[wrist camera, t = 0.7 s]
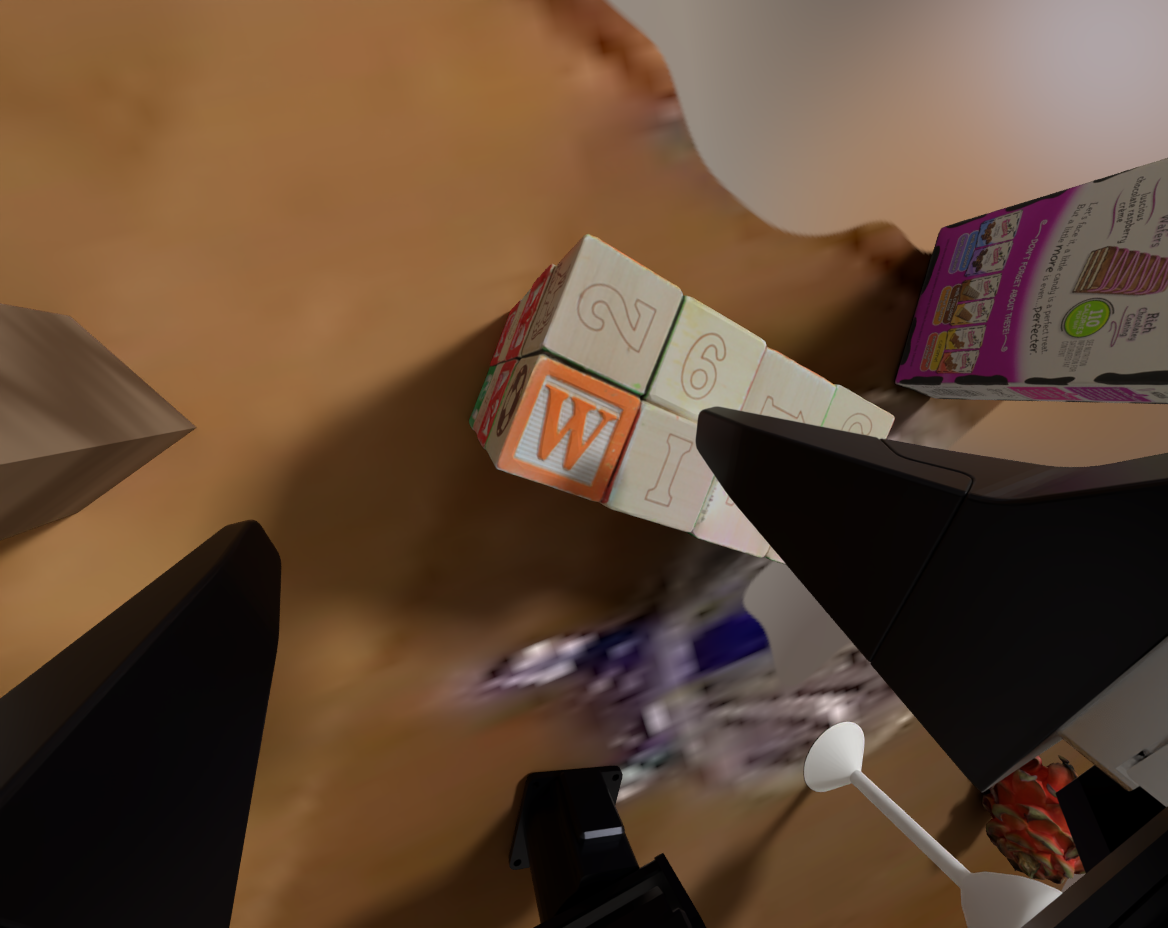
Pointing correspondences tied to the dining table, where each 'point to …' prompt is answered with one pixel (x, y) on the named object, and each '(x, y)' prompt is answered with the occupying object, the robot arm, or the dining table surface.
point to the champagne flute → (926, 837)
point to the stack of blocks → (639, 394)
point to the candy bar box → (1050, 299)
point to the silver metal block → (69, 419)
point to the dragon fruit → (1034, 821)
